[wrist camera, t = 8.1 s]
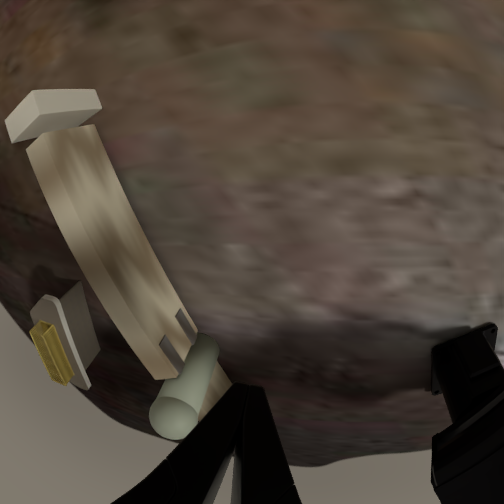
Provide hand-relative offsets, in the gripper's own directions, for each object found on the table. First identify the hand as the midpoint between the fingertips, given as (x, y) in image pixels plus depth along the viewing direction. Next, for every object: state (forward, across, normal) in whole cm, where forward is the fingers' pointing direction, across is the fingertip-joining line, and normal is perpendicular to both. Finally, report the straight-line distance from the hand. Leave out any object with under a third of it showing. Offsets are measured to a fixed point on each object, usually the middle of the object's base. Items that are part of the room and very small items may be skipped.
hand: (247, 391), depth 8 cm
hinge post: (+12, +4, +10) cm, 17 cm away
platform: (+13, +16, +11) cm, 23 cm away
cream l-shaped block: (+12, +14, -6) cm, 19 cm away
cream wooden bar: (+11, +9, +2) cm, 15 cm away
